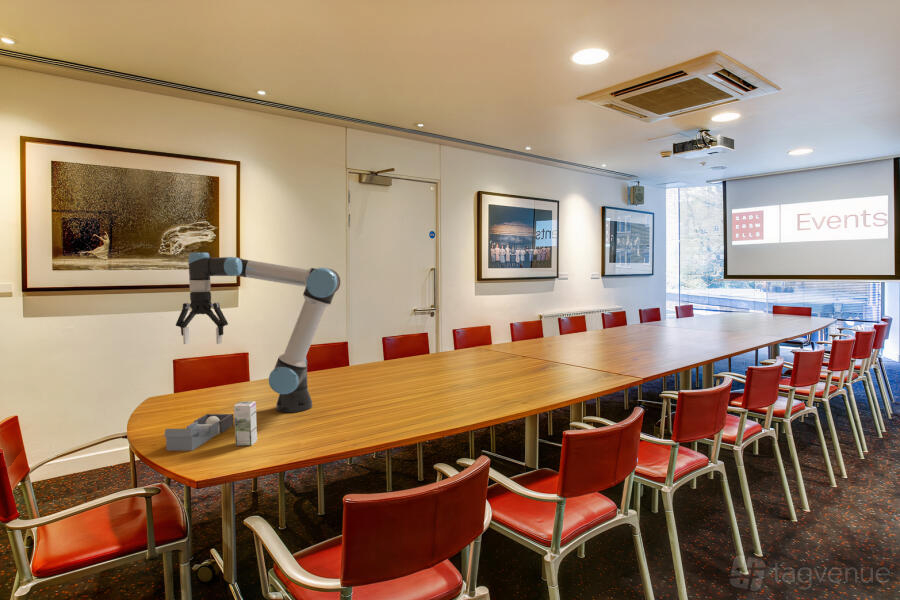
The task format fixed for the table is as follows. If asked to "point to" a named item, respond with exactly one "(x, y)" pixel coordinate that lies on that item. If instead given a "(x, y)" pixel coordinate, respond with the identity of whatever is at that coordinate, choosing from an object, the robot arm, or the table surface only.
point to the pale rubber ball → (212, 420)
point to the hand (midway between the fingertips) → (202, 343)
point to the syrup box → (245, 423)
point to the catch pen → (224, 422)
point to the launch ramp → (190, 436)
